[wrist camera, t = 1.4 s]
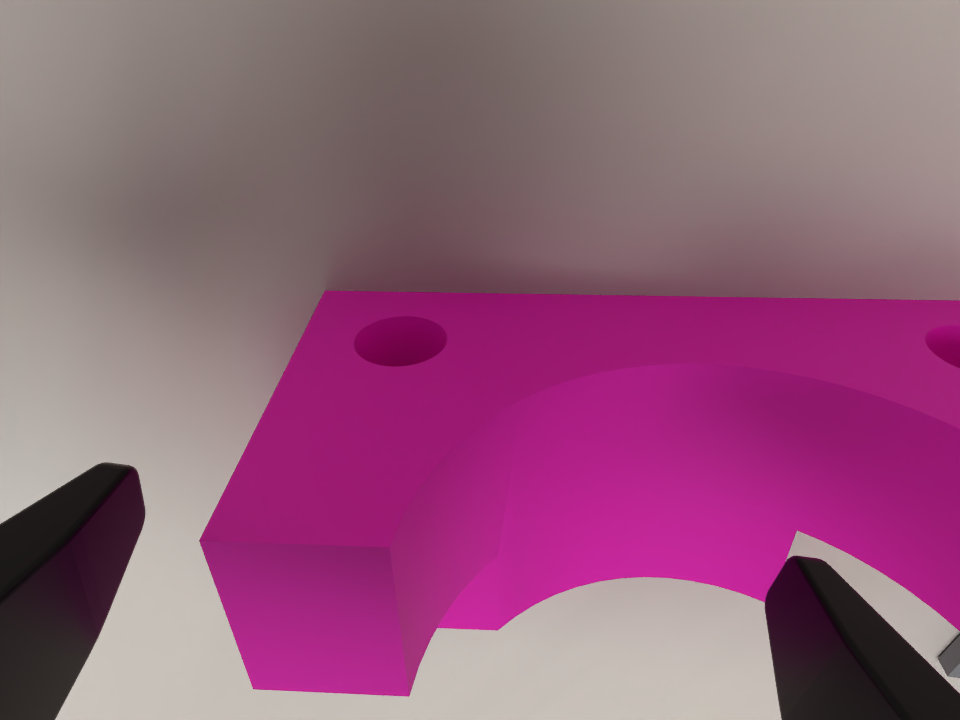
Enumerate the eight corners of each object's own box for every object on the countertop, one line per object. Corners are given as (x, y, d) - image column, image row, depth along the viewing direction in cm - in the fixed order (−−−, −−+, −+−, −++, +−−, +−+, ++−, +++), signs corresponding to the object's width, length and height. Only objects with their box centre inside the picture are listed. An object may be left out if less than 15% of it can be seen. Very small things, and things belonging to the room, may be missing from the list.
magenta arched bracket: (358, 482, 19) (279, 761, 13) (327, 285, 16) (199, 540, 10) (907, 498, 18) (1099, 804, 12) (1005, 295, 15) (1344, 581, 9)
